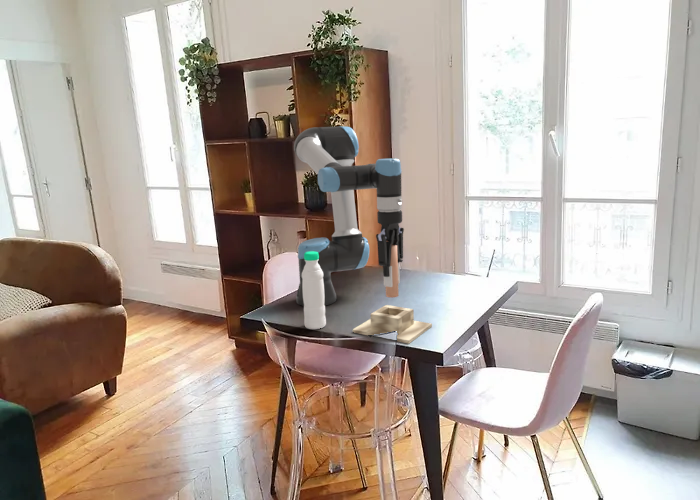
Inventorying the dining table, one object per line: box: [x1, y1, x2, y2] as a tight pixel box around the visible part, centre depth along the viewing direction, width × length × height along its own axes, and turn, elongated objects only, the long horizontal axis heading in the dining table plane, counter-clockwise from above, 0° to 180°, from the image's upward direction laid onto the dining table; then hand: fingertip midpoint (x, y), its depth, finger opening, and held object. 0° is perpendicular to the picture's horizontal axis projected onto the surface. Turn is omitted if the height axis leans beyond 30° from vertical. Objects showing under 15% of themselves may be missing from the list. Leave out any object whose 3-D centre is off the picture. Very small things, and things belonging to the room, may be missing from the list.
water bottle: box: [302, 251, 327, 330], centre depth 177 cm, size 7×7×25 cm
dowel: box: [385, 245, 399, 299], centre depth 170 cm, size 4×4×16 cm
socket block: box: [352, 304, 433, 344], centre depth 174 cm, size 20×16×6 cm
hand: (391, 284), depth 171 cm, fingers closed on dowel, 4 cm apart
